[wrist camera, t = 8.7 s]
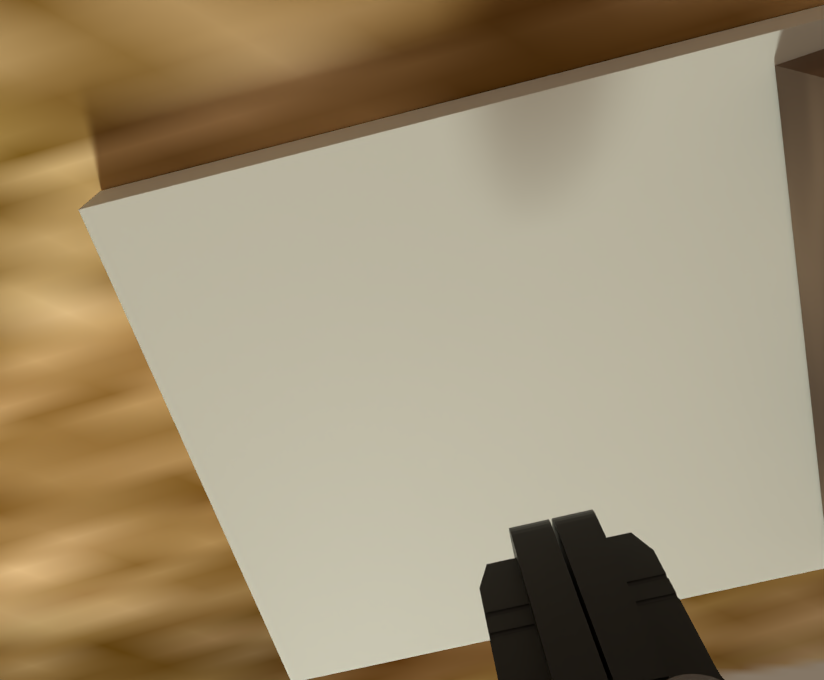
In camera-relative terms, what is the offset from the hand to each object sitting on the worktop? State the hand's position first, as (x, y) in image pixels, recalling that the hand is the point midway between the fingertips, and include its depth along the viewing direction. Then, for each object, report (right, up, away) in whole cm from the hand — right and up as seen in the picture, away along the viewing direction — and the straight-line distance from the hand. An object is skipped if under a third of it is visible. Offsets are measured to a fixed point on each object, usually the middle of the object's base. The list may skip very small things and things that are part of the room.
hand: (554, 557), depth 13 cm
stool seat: (+2, +3, +7) cm, 8 cm away
